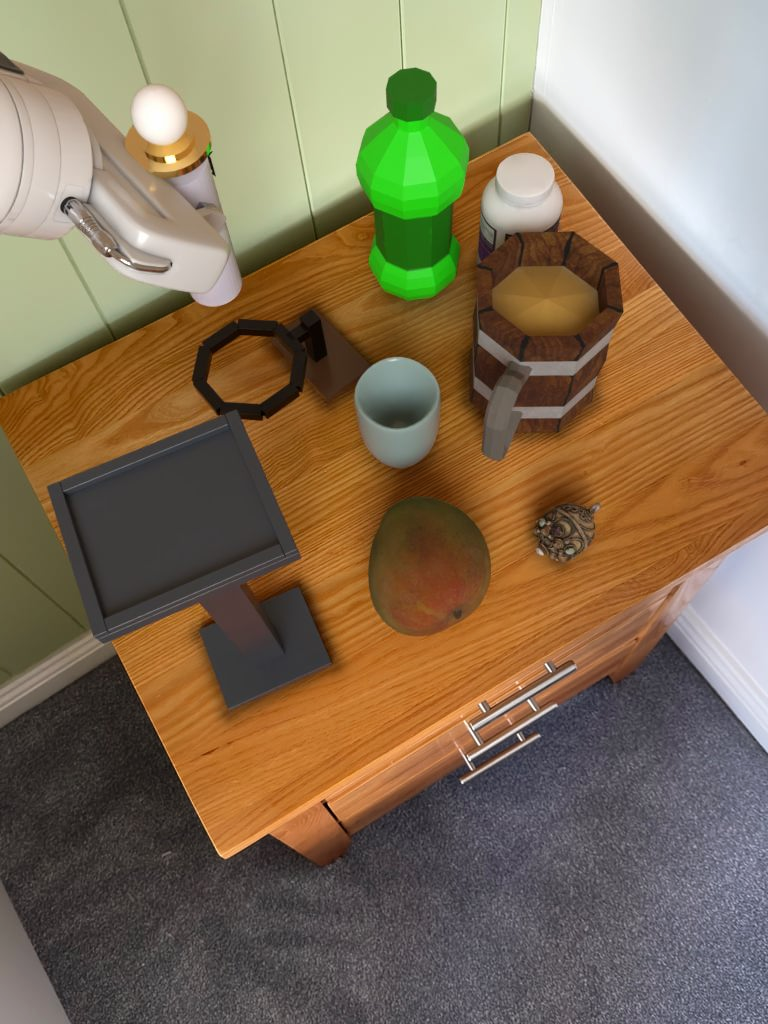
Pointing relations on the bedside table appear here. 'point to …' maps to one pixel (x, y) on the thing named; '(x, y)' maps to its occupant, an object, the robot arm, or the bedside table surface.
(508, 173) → the pill bottle
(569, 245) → the mug
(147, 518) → the pedestal tray stand
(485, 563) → the fruit
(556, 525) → the pendant
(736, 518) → the bedside table surface
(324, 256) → the bedside table surface
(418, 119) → the plastic bottle
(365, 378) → the cup
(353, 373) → the ring stand
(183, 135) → the perfume bottle
